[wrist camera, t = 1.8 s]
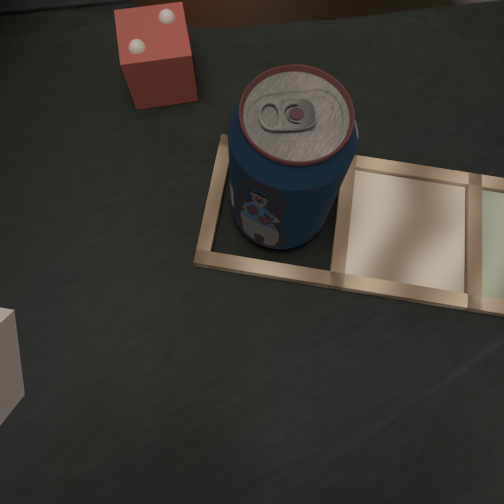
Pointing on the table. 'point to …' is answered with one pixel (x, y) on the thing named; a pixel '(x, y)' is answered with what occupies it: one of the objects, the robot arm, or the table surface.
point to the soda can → (289, 153)
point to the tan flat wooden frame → (394, 236)
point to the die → (156, 55)
